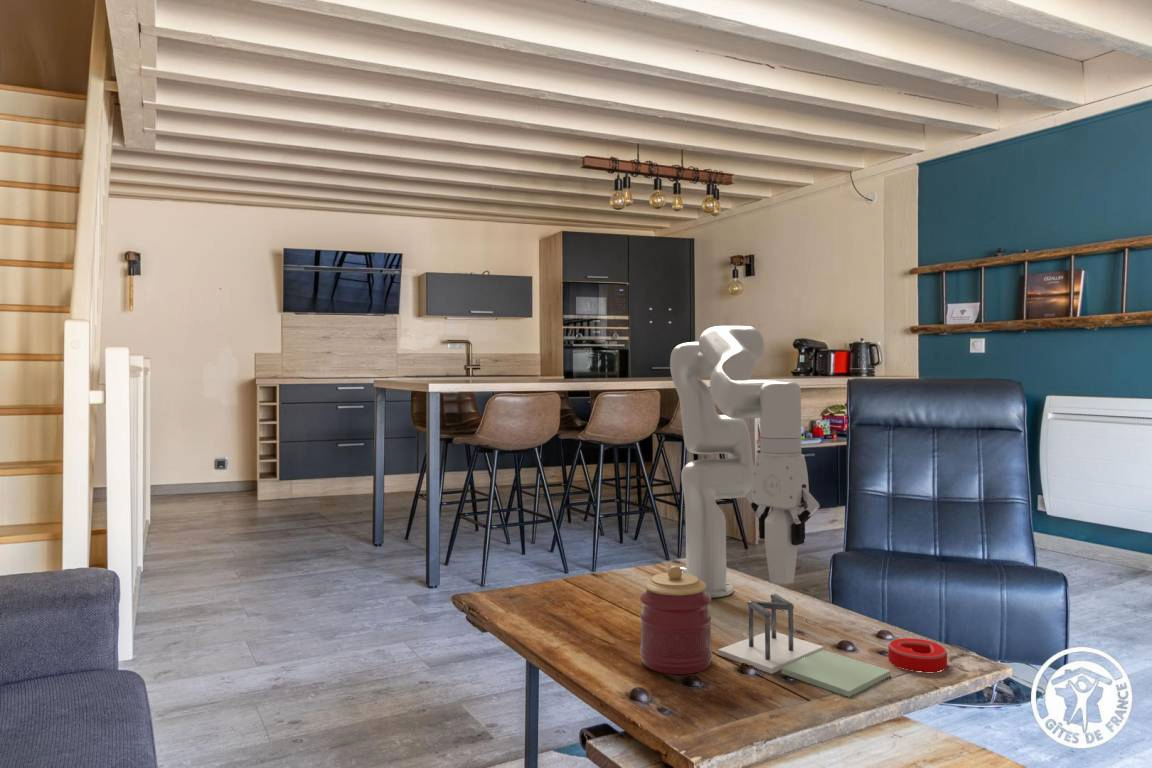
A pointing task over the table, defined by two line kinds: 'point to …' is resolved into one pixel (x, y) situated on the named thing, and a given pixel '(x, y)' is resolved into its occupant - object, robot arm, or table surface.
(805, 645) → the wire board
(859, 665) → the pale green flat panel
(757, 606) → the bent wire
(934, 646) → the decorative ornament
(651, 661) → the canister
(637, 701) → the table surface
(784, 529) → the faceted bottle
